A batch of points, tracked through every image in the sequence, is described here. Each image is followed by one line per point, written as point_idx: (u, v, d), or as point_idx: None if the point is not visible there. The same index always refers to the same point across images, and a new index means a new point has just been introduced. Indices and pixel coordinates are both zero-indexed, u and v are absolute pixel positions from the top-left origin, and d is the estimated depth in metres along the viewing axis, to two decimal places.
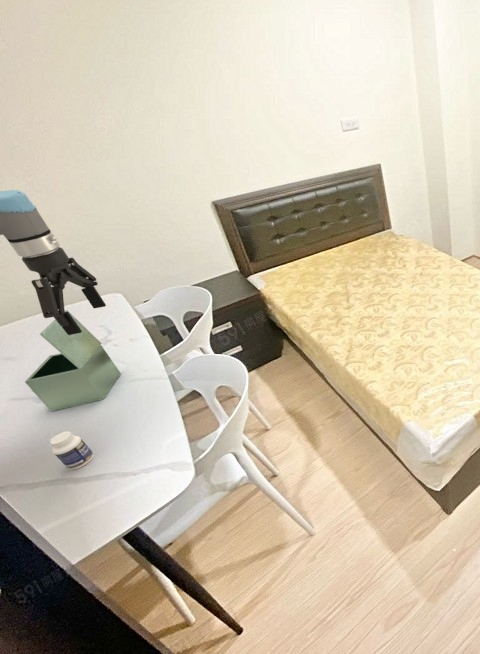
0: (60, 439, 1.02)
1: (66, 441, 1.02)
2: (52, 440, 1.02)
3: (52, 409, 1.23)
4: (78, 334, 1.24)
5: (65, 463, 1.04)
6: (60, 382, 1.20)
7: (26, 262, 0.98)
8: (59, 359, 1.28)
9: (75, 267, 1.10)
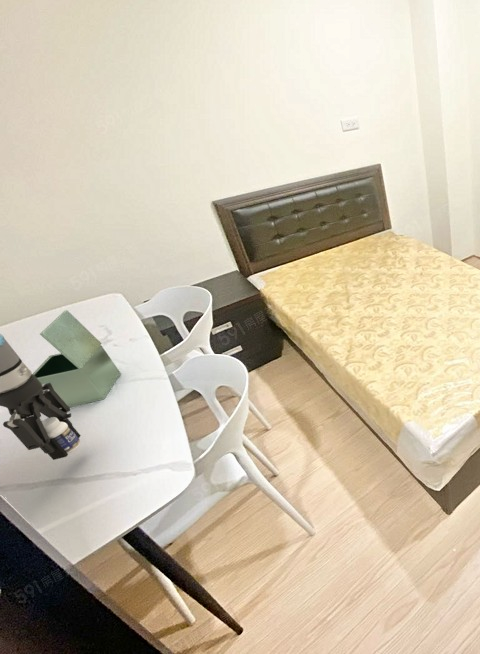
0: (46, 425, 0.99)
1: (52, 427, 0.99)
2: None
3: None
4: (78, 334, 1.24)
5: None
6: (60, 382, 1.20)
7: None
8: (59, 359, 1.28)
9: (49, 394, 1.01)
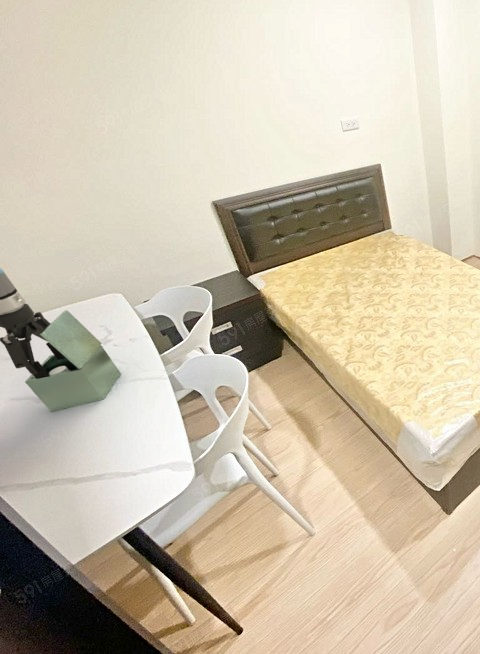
0: (57, 371, 1.23)
1: None
2: (51, 372, 1.23)
3: (52, 409, 1.23)
4: (78, 334, 1.24)
5: None
6: (60, 382, 1.20)
7: None
8: None
9: (41, 321, 1.21)
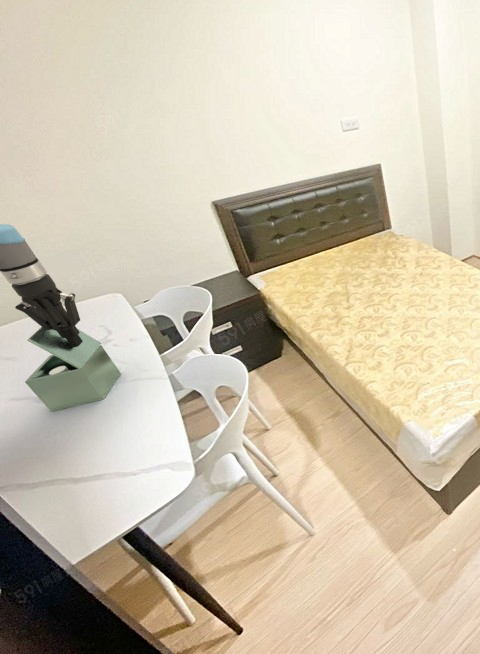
0: (57, 371, 1.23)
1: None
2: (51, 372, 1.23)
3: (52, 409, 1.23)
4: None
5: None
6: (60, 382, 1.20)
7: None
8: (59, 359, 1.28)
9: None
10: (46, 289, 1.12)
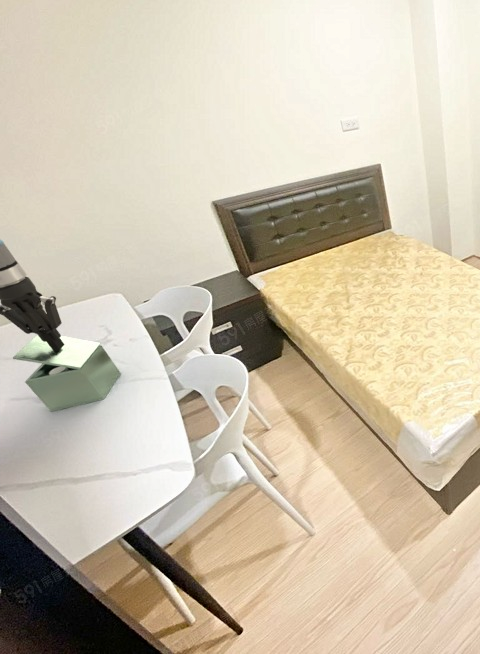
0: (57, 371, 1.23)
1: None
2: (51, 372, 1.23)
3: (52, 409, 1.23)
4: (64, 345, 1.24)
5: None
6: (60, 382, 1.20)
7: None
8: None
9: None
10: (25, 292, 1.10)
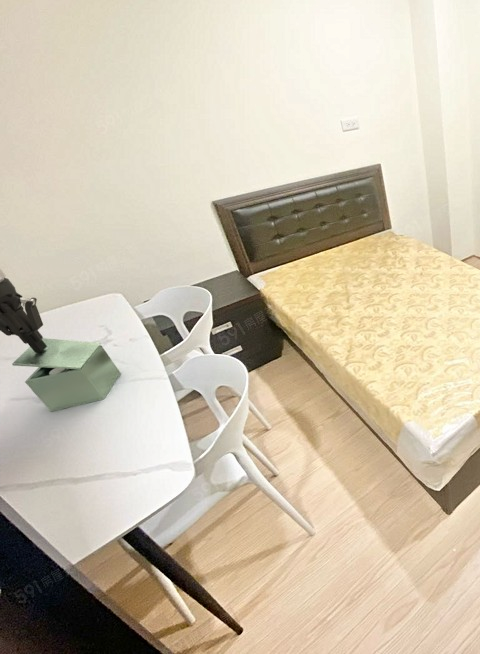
0: (57, 371, 1.23)
1: None
2: (51, 372, 1.23)
3: (52, 409, 1.23)
4: (63, 347, 1.24)
5: None
6: (60, 382, 1.20)
7: None
8: None
9: None
10: (5, 294, 1.09)
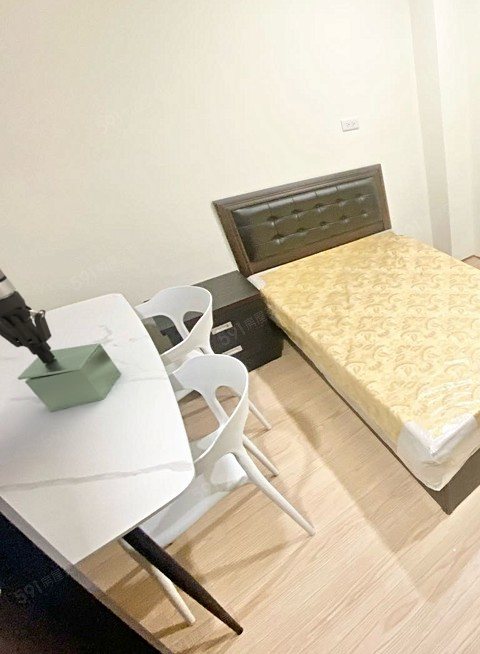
0: None
1: None
2: None
3: (52, 409, 1.23)
4: (65, 354, 1.25)
5: None
6: (60, 382, 1.20)
7: None
8: None
9: None
10: (15, 306, 1.11)
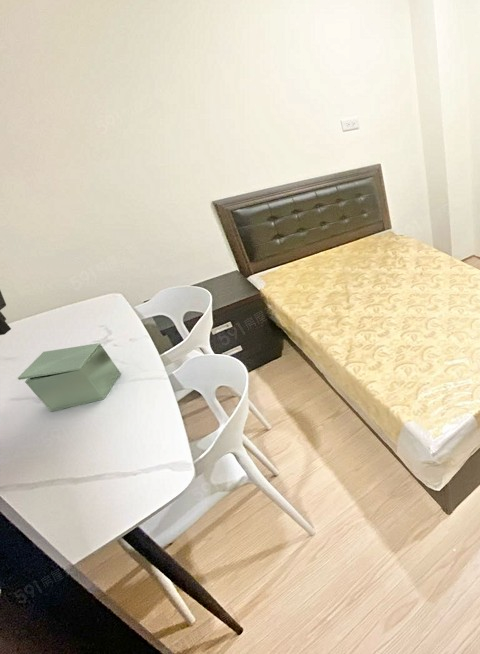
0: None
1: None
2: None
3: (52, 409, 1.23)
4: (65, 354, 1.25)
5: None
6: (60, 382, 1.20)
7: None
8: None
9: None
10: None
